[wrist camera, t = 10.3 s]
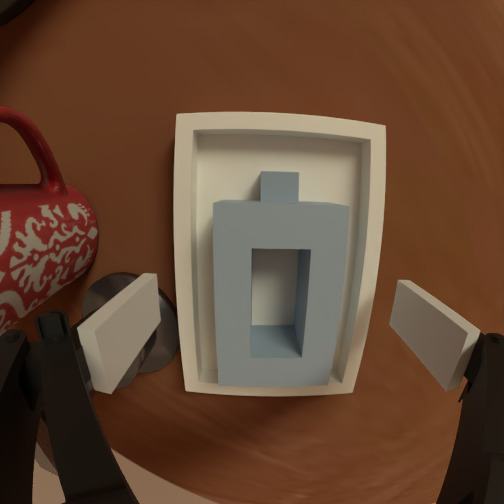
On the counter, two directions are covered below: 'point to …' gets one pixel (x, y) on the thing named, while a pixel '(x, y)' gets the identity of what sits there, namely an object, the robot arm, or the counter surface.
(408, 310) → the robot arm
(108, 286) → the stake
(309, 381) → the windowed blue block
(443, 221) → the counter surface
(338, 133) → the tray
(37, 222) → the mug
